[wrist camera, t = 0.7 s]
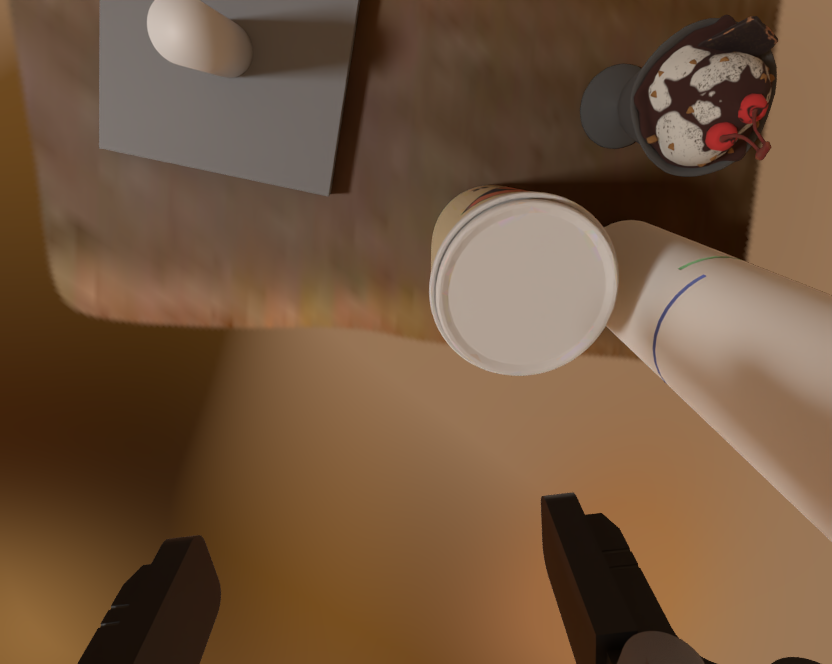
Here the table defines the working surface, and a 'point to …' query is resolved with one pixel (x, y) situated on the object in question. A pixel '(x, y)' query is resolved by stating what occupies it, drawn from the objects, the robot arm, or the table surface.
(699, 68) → the sundae
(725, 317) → the cylindrical container
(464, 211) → the coffee cup
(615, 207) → the table surface
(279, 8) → the base
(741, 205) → the table surface
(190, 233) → the table surface
